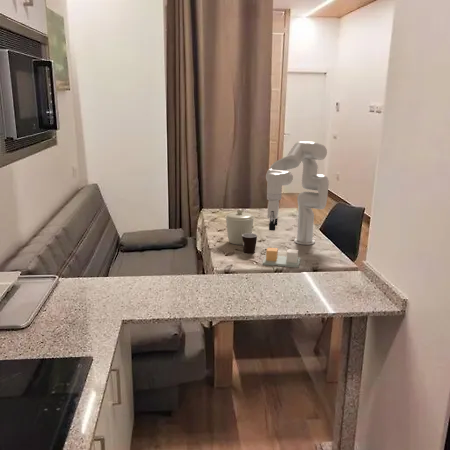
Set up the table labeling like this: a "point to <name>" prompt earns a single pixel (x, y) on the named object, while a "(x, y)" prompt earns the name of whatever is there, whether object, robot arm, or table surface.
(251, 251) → the coffee mug
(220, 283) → the table surface
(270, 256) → the tan wooden cube
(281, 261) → the junction board
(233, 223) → the canister
